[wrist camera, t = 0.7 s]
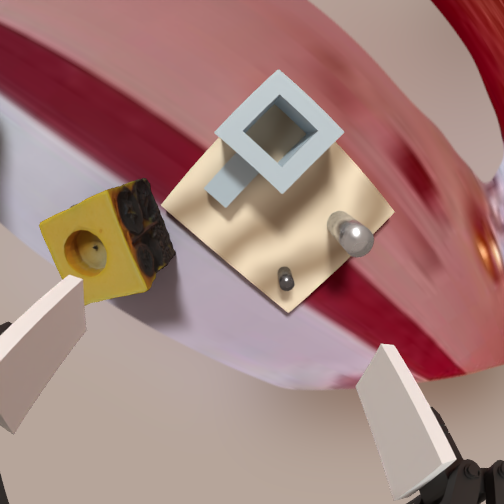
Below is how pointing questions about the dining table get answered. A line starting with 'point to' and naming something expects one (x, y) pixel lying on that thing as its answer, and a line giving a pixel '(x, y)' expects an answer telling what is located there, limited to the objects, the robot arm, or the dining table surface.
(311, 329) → the dining table surface
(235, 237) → the board
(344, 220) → the post
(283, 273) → the dowel
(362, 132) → the dining table surface
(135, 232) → the yellow black cube
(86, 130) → the dining table surface
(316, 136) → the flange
